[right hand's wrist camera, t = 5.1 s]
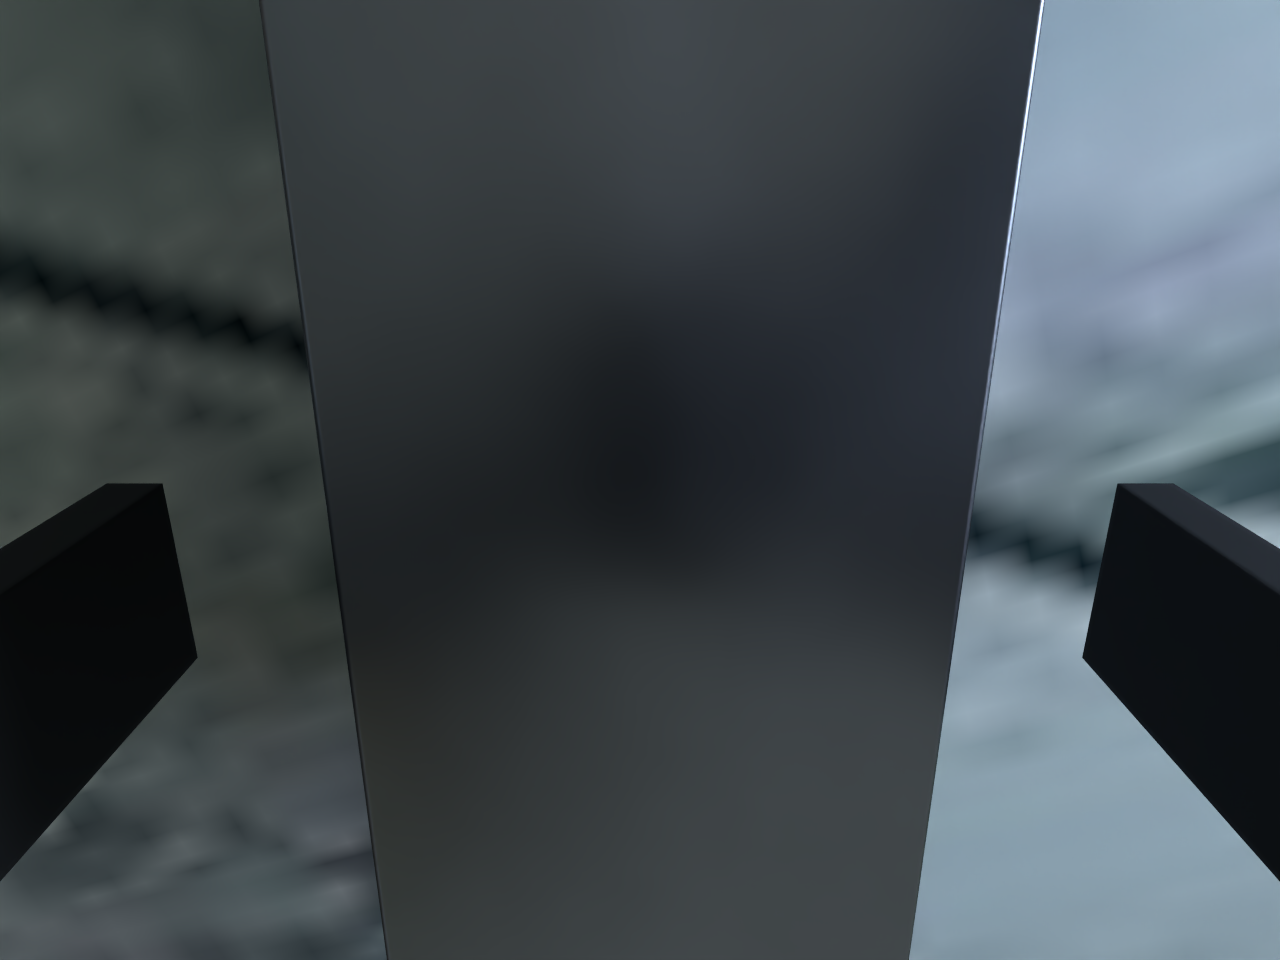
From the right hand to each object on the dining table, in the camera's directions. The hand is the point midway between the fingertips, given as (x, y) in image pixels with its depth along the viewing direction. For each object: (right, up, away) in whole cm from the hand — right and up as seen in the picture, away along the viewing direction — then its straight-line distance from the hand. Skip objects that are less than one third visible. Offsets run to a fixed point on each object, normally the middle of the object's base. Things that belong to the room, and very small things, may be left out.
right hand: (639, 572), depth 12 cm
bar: (0, +10, -1) cm, 11 cm away
